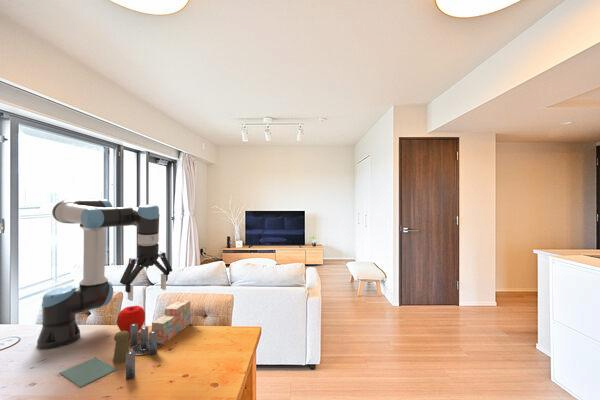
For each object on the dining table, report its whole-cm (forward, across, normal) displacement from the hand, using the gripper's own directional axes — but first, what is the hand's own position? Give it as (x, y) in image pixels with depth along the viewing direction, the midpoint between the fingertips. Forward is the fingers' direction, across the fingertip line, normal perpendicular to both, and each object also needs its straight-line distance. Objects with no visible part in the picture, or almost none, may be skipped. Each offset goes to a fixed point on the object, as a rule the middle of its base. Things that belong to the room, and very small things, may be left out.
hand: (147, 294), depth 119 cm
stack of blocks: (+28, +17, +9) cm, 34 cm away
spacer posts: (+26, -5, 0) cm, 26 cm away
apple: (+29, +5, +23) cm, 37 cm away
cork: (+26, -8, +4) cm, 28 cm away
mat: (+26, -19, +5) cm, 32 cm away
